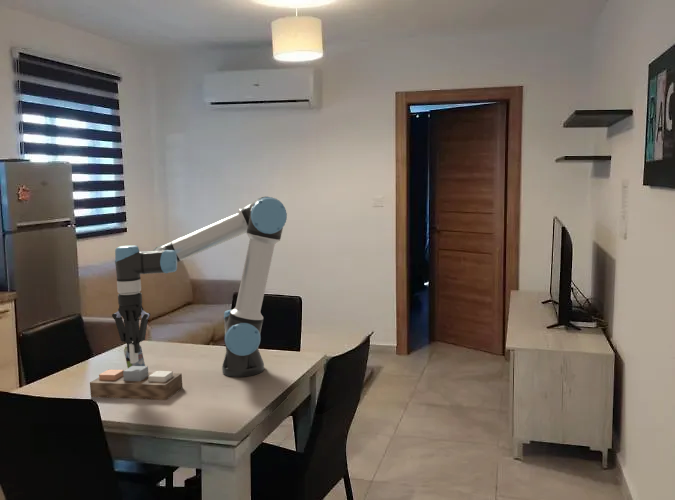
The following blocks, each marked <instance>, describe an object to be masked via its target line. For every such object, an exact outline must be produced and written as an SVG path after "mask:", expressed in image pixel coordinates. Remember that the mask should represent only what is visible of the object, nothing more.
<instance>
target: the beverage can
mask: <svg viewBox="0 0 675 500" xmlns="http://www.w3.org/2000/svg"><path fill="white" fill-rule="evenodd" d="M123 353H124V357H125V361H126V367H127V369H128V368H129V367H131V366H146V364H145V358H144V353H143V350H142V345H140V352H139V353H138V360H139V361H138V362H136V363H130V353H128V352H127V344H126V345H125V346H124V349H123Z"/></svg>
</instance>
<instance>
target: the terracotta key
mask: <svg viewBox="0 0 675 500" xmlns="http://www.w3.org/2000/svg"><path fill="white" fill-rule="evenodd" d="M124 370H125V369H107V370H105V371H103V372H101V373H100V374H98V378H99V380H117V379H119V378H121V377H122V376H123V371H124Z"/></svg>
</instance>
